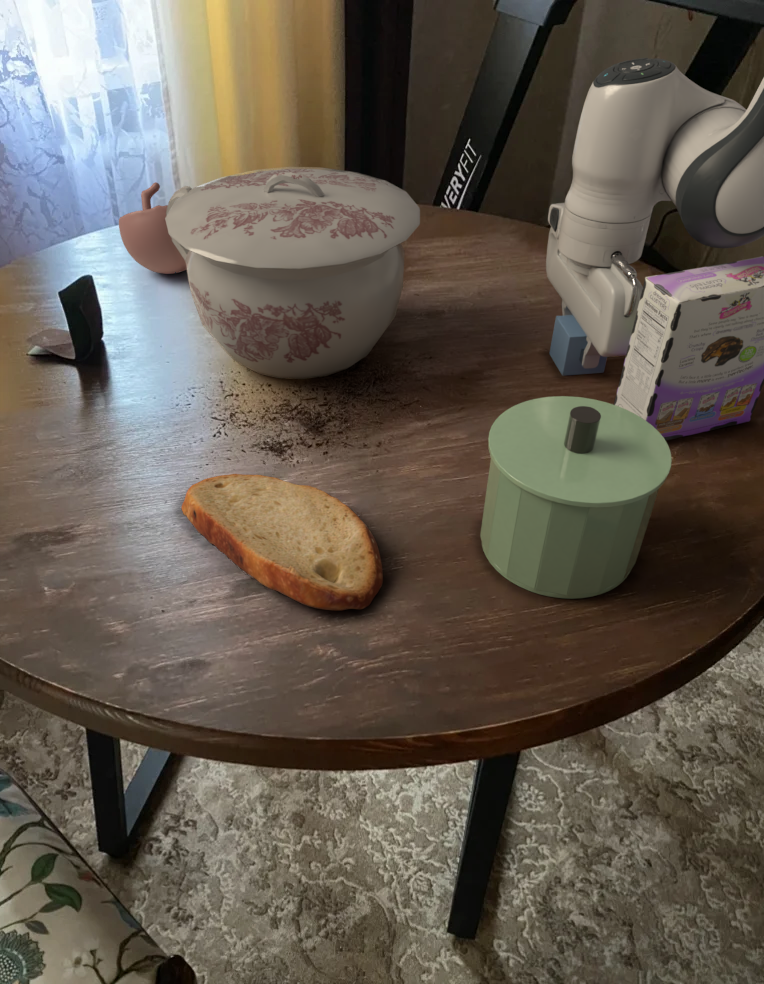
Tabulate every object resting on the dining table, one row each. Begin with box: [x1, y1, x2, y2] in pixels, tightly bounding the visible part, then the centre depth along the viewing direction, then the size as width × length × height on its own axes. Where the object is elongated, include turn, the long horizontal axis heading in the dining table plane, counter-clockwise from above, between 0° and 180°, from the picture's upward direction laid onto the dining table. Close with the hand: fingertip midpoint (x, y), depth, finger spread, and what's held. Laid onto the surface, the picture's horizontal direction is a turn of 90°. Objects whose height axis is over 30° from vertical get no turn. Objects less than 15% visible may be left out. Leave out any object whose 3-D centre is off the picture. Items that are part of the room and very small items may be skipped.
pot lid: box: [487, 395, 673, 508], centre depth 68 cm, size 15×15×4 cm
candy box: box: [613, 255, 764, 442], centre depth 84 cm, size 14×6×16 cm, turn 108°
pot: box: [479, 457, 660, 600], centre depth 72 cm, size 14×14×10 cm
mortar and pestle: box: [118, 182, 187, 275], centre depth 114 cm, size 12×12×11 cm
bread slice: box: [181, 473, 384, 611], centre depth 74 cm, size 18×18×4 cm
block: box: [548, 315, 608, 377], centre depth 97 cm, size 5×5×5 cm
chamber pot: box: [165, 166, 421, 380], centre depth 95 cm, size 28×28×21 cm
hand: (578, 350), depth 98 cm, fingers closed on block, 5 cm apart
